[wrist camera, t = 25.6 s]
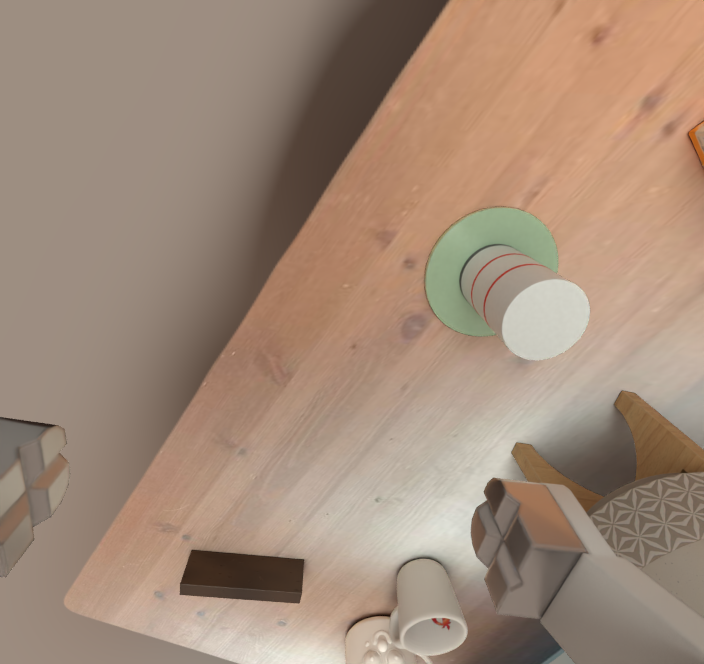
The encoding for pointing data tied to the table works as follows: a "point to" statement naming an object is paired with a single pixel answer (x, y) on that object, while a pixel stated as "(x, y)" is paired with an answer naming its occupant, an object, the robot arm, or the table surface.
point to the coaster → (466, 240)
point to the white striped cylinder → (524, 302)
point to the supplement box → (698, 140)
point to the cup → (426, 610)
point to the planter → (647, 502)
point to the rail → (242, 577)
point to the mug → (376, 644)
